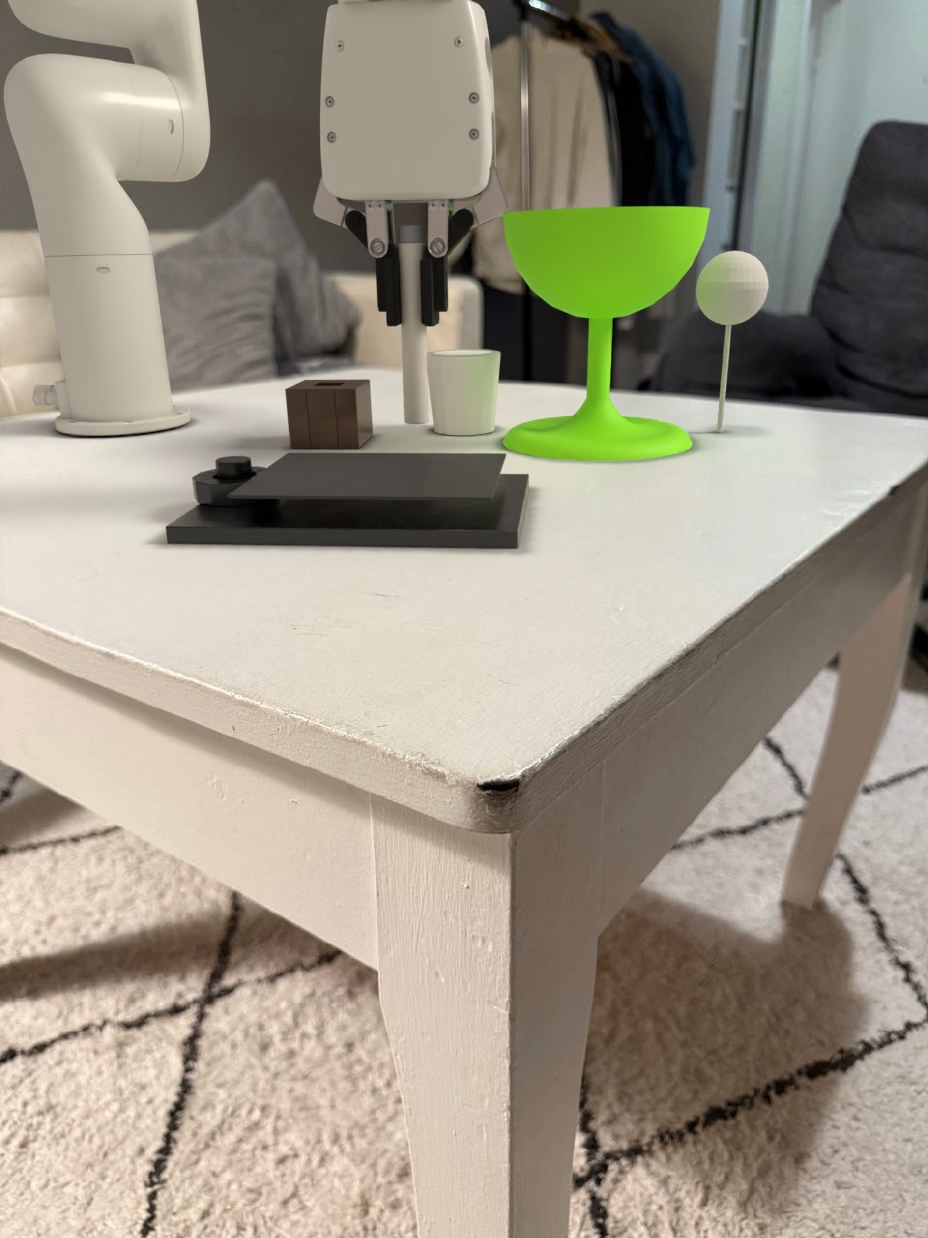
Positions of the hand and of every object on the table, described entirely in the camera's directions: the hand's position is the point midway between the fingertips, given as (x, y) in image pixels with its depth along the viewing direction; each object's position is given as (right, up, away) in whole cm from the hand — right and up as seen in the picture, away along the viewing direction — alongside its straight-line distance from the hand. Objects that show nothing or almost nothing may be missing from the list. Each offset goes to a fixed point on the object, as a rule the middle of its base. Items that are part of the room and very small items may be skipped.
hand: (413, 322), depth 58 cm
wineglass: (+14, -4, +20) cm, 25 cm away
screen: (-2, -10, -2) cm, 10 cm away
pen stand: (-8, -3, +22) cm, 24 cm away
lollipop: (+26, -2, +23) cm, 35 cm away
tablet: (-3, -12, -1) cm, 13 cm away
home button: (-11, -10, -1) cm, 15 cm away
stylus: (0, -6, +2) cm, 6 cm away
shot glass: (+3, -1, +27) cm, 27 cm away
